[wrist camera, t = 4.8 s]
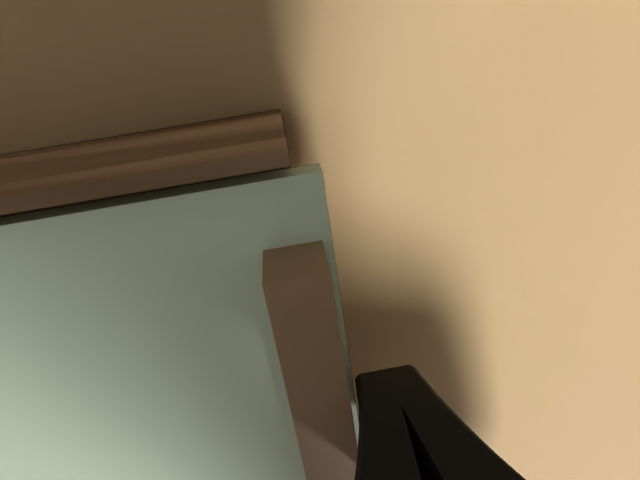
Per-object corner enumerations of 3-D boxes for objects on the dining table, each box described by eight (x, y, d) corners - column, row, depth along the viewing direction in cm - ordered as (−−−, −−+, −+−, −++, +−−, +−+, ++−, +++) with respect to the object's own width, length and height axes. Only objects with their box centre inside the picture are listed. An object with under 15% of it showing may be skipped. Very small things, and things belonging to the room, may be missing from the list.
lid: (370, 513, 13) (386, 587, 12) (1, 587, 13) (-42, 676, 11) (318, 163, 9) (331, 194, 7) (-246, 258, 9) (-385, 317, 7)
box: (335, 424, 17) (360, 564, 13) (22, 485, 17) (-70, 652, 12) (279, 109, 12) (288, 149, 8) (-166, 182, 12) (-441, 271, 7)
